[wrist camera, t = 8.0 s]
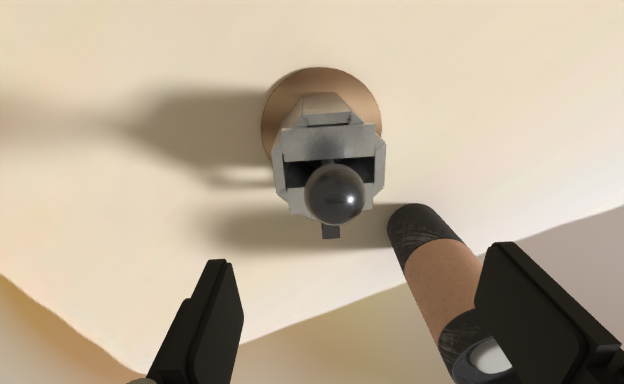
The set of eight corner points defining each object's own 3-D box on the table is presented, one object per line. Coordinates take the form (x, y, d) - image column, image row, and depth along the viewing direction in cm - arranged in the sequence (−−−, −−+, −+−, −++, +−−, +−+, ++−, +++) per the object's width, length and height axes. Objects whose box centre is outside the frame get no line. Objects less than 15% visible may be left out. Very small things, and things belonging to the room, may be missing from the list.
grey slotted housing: (279, 96, 32) (265, 118, 20) (359, 90, 32) (390, 110, 20) (289, 191, 37) (282, 252, 25) (358, 186, 37) (383, 245, 25)
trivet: (253, 72, 31) (252, 72, 31) (382, 63, 31) (384, 63, 31) (269, 189, 37) (269, 191, 37) (378, 182, 37) (379, 183, 37)
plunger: (292, 113, 29) (281, 164, 16) (351, 109, 29) (391, 157, 16) (297, 168, 32) (291, 254, 18) (351, 164, 32) (386, 248, 18)
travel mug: (387, 252, 42) (450, 402, 24) (381, 207, 39) (448, 341, 21) (441, 242, 41) (546, 387, 23) (439, 196, 38) (559, 322, 20)
